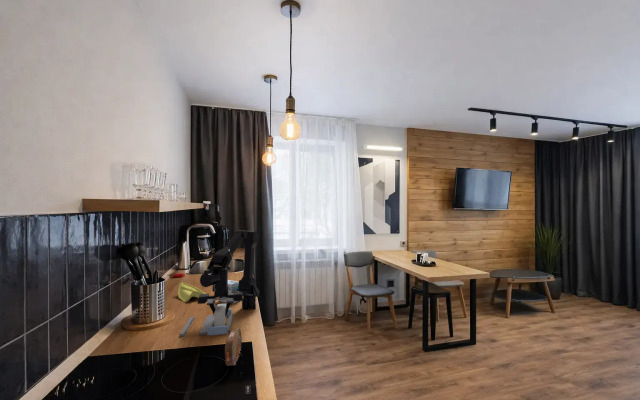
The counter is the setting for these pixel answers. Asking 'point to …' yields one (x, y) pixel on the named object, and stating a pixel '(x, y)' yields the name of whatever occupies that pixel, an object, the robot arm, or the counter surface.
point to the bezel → (219, 327)
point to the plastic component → (188, 292)
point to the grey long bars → (205, 325)
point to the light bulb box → (231, 289)
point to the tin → (233, 347)
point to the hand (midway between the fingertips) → (220, 317)
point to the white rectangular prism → (220, 315)
